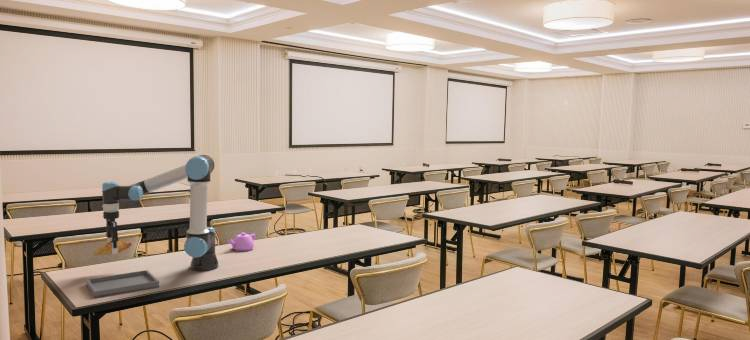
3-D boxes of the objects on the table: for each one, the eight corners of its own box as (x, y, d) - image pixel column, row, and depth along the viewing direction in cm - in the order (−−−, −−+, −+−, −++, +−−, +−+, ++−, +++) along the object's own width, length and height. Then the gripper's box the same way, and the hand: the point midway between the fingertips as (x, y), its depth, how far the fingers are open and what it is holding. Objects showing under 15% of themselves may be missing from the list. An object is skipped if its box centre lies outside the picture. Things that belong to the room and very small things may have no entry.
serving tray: (147, 275, 279) (147, 269, 278) (159, 286, 261) (159, 281, 261) (86, 284, 261) (86, 279, 261) (94, 297, 244) (94, 291, 243)
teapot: (222, 249, 335) (222, 233, 334) (249, 244, 350) (249, 228, 349) (234, 254, 326) (234, 237, 325) (261, 248, 340) (261, 232, 339)
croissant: (97, 264, 269) (101, 251, 266) (86, 252, 272) (90, 240, 270) (134, 254, 287) (137, 242, 284) (123, 243, 291) (126, 232, 288)
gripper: (99, 208, 283) (100, 248, 285) (107, 215, 265) (109, 257, 267) (114, 206, 288) (115, 246, 290) (123, 213, 270) (125, 255, 272)
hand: (112, 251), depth 279 cm, fingers closed on croissant, 10 cm apart
